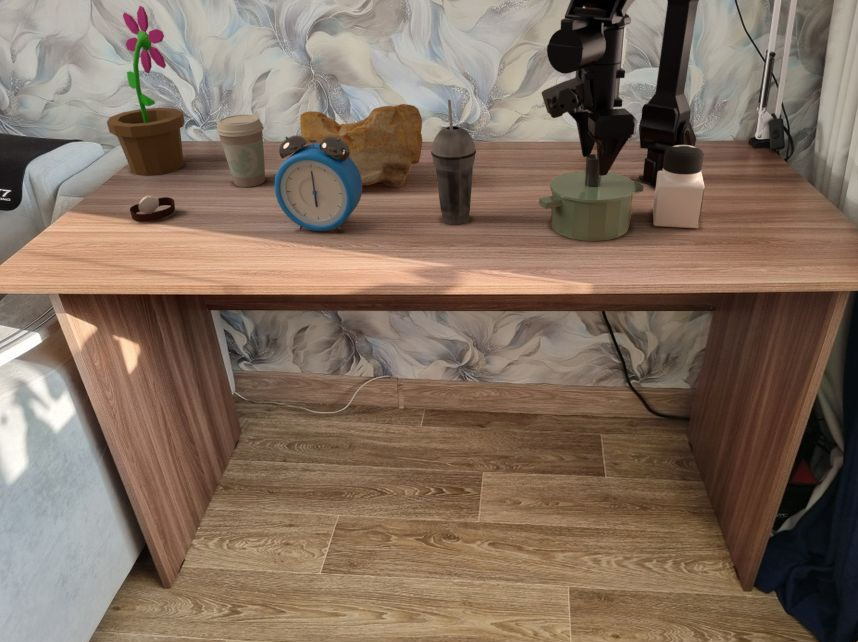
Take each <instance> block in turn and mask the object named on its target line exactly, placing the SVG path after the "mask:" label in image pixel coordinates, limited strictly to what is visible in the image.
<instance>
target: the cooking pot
mask: <svg viewBox="0 0 858 642" xmlns="http://www.w3.org/2000/svg"><path fill="white" fill-rule="evenodd" d="M632 181H633V182H634V183H635V185H636V191H635V193H641V192H644V185H643V184H642V183H640V182H638V181H635V180H632ZM635 193H634V194H635ZM634 194H633V195H632V196H630V197H628V198H626V199H623V200H619V201H614V202H606V203H587V202H578V201H573V200H569V199H565V198H562V197H560V196H558V195H556V194H554V193H553V192H552V191H551V196H545V197H539V198H538V204H539V205H540V206H541V207H542V208H544V209H545V210H549V209H551V211H550V222H551V223H550V224H551V226H550V227H551V228H552V230H553V231H554V232H555V233H557V234H559V235H560V236H563V237H565V238H569V239H572V240H577V241H585V242H588V241H589V242H601V241H610V240H613V239H618V238H620V237H622V236H623V235H625V234H626V233H627V232H628V231H629V228H630V224H631V215H632V206H633V205H632V204H633V198H634V197H633V196H634Z"/></svg>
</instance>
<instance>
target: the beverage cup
mask: <svg viewBox="0 0 858 642" xmlns="http://www.w3.org/2000/svg"><path fill="white" fill-rule="evenodd" d="M447 110H448V123H449V126H445V127H444V128H442V129H441V130H440V131H439V132H437V134H436V135H435V137H434V139H433V142H432V146H431V152H430V155H431V157H432V163H433V166H434V169H435V176H436V184H437V192H438V193H437V194H438V200H439V207H440V208H439V209H440V213H441V217H442V219H441V220H442V222H443V223H444V224H447V225H453V226H455V225H463V224H465V223H468V222H469V220H470V212H471V203H472V201H471V200H472V188H473V187H472V186H473V172H474V165H475V159H476V154H477V150H476V146H475V141H474V139H473V137H472V136H471V134H470V133H469V132H468V131H467V130H466V129H465V128H463V127H461V126H458V125H453V124H454V123H453V111H452V99H447Z"/></svg>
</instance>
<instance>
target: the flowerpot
mask: <svg viewBox="0 0 858 642" xmlns="http://www.w3.org/2000/svg"><path fill="white" fill-rule="evenodd" d="M122 17H123V18H122V19H123V21H124V23H125V26H126V27H127V28H128V29H129V31H130V32H131V33H132V34H134V35H137V37H131V38H128V39H127V40H126V43H125V47H126V49H127V51H130V52H132V53H133V52H134V54H133V61H132V67H133V68H132V69H133V72H132V70H130V71H129V70H128V71H126V76H127V82H128V85H129V87H130V88H132V90H134V89H135V93H136V95H137V100H138V103H139V109H134V110H128V111H122V112H119V113H118V114H115V115H112V116H110V117H109V118H108V119H107V120H106V124H107V128H108V131H109V134H111V135H113V136H115V137H117V139H118V142H119V145H120V147H121V149H122V151H123V154H124V156H125V159H126V161H127V163H128V166H129V168H130V170H131V172H132V173H135V174H136V175H141V176H142V175H143V176H155V175H156V176H157V175H164V174H168V173H173V172H175V171H177V170H179V169H182V168H183V165H184V154H183V153H184V152H183V144H182V132H181V129H182V128H184V125H185V122H186V121H185V117H184V113H183V111H182V110H179V109H177V108H173V107H172V108H171V107H151V106H152V105H153V106H154V105H155V104H156V102H155V100H154V99H152V98H151V97H149V96H147V95H146V94H145V93H143V92H142V88H141V82H140V81H141V80H140V79H141V78H140V70H139V61H140V64H141V66H142V68H143V70H144V73H146V74H150V72H151V70H152V67H153V66H152V60H153V62H154V63H155V64H156V66H158V67H160V68H162V69H166V66H167V64H166V61H165V58H164V55H163V54H162V53H161V52H160V50H159V49H158V47H155V46H152V44H153V45H156V44H159V43H162V42H163V40H164V37H165V35H164V32H163V30H161V29H158V28H154V29H152V30H149V29H148V28H149V16H148V14H147V12H146V9H145V7H144V6H142V5H139V6H138V9H137V11H136V19H137V21H136V20H135V19H134V17H133V16H132V15H130V14H129V13H127V12H123V14H122ZM148 30H149V31H148ZM147 31H148V33H147ZM141 49H142V50H141ZM146 107H150V108H146Z"/></svg>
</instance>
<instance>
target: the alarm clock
mask: <svg viewBox="0 0 858 642" xmlns="http://www.w3.org/2000/svg"><path fill="white" fill-rule="evenodd" d="M309 142H316V140H309ZM307 143H308V142H307V140H306V139H305V138H304V137H302V135H291V136H289V137H288V136H285V139H284V140H283V141H282V142H281V144H280V146H279V149H278V153H279V156H280V158H281V159H282V160H283V159H285V158H287V157H288V158H287V159H285V160H284V161H283V162H282V163H281V165H280V166H279V167H278V169H277V171H276V174H275V178H274V194H275V197H276V201H277V203H278V205H279V207H280V209H281V210H282V212H283V213H284V215H286V216H287V217H288V218H289V220H291V222H293V223H294V224H296V225H298V226H299V231H302V230H303V229H306V230H309V231H313V232H328V231H332V230H335V229H336V230H337V232H339V233H341V231H342V230H341V228H340V226H341V225H343V224H344V223H345V222H346V221H347V220H348V219H349V217H350V216H351V215H352V214H353V212H354V211H355V209H356V208H357V207H358V205H359V203H360V201H361V199H362V195H363V185H362V180H361V176H360V173H359V171H358V168H357V167H356V165H355V163H354V162H353V161H352V160H351V158H350V157H349V155H350V150H349V147H348V145H347V144H346V142H345V141H343V140H342V139H340V138H338V137H335V136H329V137H326V138H324V139H323V140H322V141H321V142H320V143H314V144H309V145H306V144H307ZM304 145H306V146H304Z"/></svg>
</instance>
